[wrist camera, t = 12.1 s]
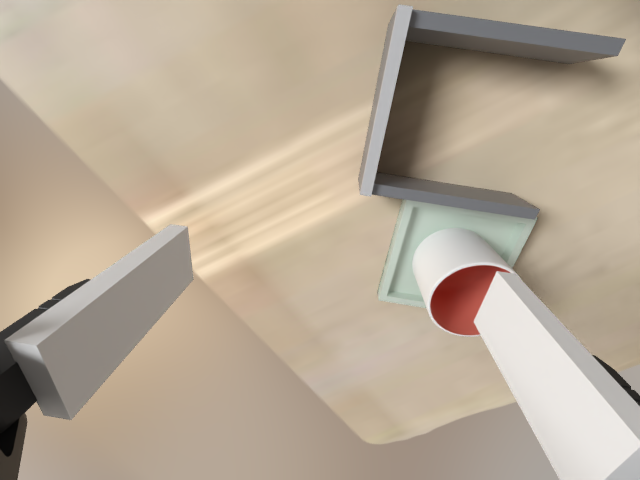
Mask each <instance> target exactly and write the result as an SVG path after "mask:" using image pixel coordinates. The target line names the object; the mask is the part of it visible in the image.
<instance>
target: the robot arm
mask: <svg viewBox="0 0 640 480" xmlns="http://www.w3.org/2000/svg"><path fill="white" fill-rule="evenodd" d="M192 281H193V271H192V262H191V253H190V244H189V234H188V227H186V226H179V225H172V224H170V225H169V226H167V227H166V228H164V229H163V230H161V231H160V232H159V233H157V234H156V235H154V236H153V237H151V238H150V239H149V240H147V241H146V242H144V243H143V244H141V245H140V246H138V247H137V248H136V249H134V250H133V251H131V252H130V253H128V254H127V255H126V256H124V257H123V258H121V259H120V260H118V261H117V262H116V263H114V264H113V265H111V266H110V267H108V268H107V269H106V270H104V271H103V272H101V273H100V274H98V275H97V276H96V277H94V278H93V279H91V280H90V279H86V280H84V281H81V282H79V283H76V284H74V285H72V286H69V287H67V288H66V289H64V290H63V291H61V292H60V293H58V294H57V295H55V296H54V297H52V299H51V300H48V301H46V302H45V303H43V304H42V305H40V306H39V308H38V309H34V310H33V311H31V312H30V313H28V314H27V315H25V316H24V317H22V318H21V319H19V320H18V321H16V322H15V323H13V324H12V325H10V326H9V327H7V328H6V329H4V330H3V331H1V332H0V480H17V478H18V473H19V467H20V461H21V455H22V450H23V444H24V438H25V432H26V427H27V418H26V414H25V412H26V411H27V410H28V409H29V408H30V407H31V406H32V405H33V404H34V403H35V402H36V401H37V403H38V405H39V407H40V409H41V411H42V413H43V415H45V416H51V417H57V418H63V419H69V420H72V418H73V417H74V416H75V415H76V414H77V413H78V412H79V411H80V409H81V408H82V407H83V406H84V405H85V404H86V402H87V401H88V400H89V399H90V398H91V397H92V396H93V394H94V393H95V392H96V391H97V390H98V389H99V388H100V386H101V385H102V384H103V383H104V382H105V380H106V379H107V378H108V377H109V376H110V375H111V374H112V373H113V371H114V370H115V369H116V368H117V367H118V366H119V364H120V363H121V362H122V361H123V360H124V359H125V358H126V356H127V355H128V354H129V353H130V352H131V351H132V349H133V348H134V347H135V346H136V345H137V344H138V343H139V342H140V340H141V339H142V338H143V337H144V336H145V335H146V334H147V332H148V331H149V330H150V329H151V328H152V326H153V325H154V324H155V323H156V322H157V321H158V320H159V318H160V317H161V316H162V315H163V314H164V313H165V312H166V311H167V309H168V308H169V307H170V306H171V305H172V304H173V302H174V301H175V300H176V299H177V298H178V297H179V296H180V294H181V293H182V292H183V291H184V290H185V289H186V287H187V286H188V285H189V284H190V283H191V282H192ZM474 324H475V325H476V327H477V329H478V331H479V333H480V335H481V336H482V338H483V340H484V342H485V344H486V346H487V347H488V349H489V351H490V353H491V355H492V357H493V358H494V360H495V362H496V364H497V366H498V368H499V369H500V371H501V373H502V375H503V377H504V379H505V380H506V382H507V384H508V386H509V388H510V390H511V391H512V393H513V395H514V397H515V399H516V401H517V402H518V404H519V406H520V408H521V410H522V411H523V413H524V415H525V417H526V418H527V421H528V422H529V424H530V426H531V428H532V429H533V432H534V433H535V435H536V437H537V439H538V441H539V442H540V444H541V446H542V448H543V450H544V452H545V454H546V455H547V457H548V459H549V461H550V463H551V465H552V466H553V468H554V470H555V472H556V474H557V475H558V477H559V479H560V480H640V396H639V394H638V393H637V392H636V391H634V390H631V386H630V385H629V384H628V383H627V382H626V381H625V380H624V379H623V378H622V377H621V376H620V375H619V374H618V373H617V372H616V371H615V370H614V369H613V368H611V367H610V366H609V365H607V364H606V363H604V362H603V361H602V360H600V359H599V358H598V357H596V356H595V355H591V354H590V353H589V352H588V351H587V349H586V348H585V347H584V346H583V345H582V344H581V343H580V342H579V341H578V340H577V339H576V338H575V337H574V336H573V334H572V333H571V332H570V331H569V330H568V329H567V328H566V327H565V326H564V325H563V324H562V323H561V322H560V321H559V320H558V318H557V317H556V316H555V315H554V314H553V313H552V312H551V311H550V310H549V309H548V308H547V307H546V306H545V305H544V304H543V302H542V301H541V300H540V299H539V298H538V297H537V296H536V295H535V294H534V293H533V292H532V291H531V290H530V289H529V287H528V286H527V285H526V284H525V283H524V282H523V281H522V280H521V279H520V278H519V277H518V276H517V275H516V274H514V273H507V272H500V271H497V272H496V274H495V276H494V278H493V281H492V283H491V285H490V287H489V289H488V291H487V294H486V296H485V298H484V300H483V302H482V304H481V306H480V309H479V311H478V313H477V315H476V317H475V319H474Z"/></svg>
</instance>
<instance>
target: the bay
mask: <svg viewBox="0 0 640 480" xmlns="http://www.w3.org/2000/svg"><path fill="white" fill-rule="evenodd" d="M412 8H413V6H406V5H398V6H397V8H396V10H395V12H394V14H393V16H392V18H391V20H390V22H389V24H388V29H387V34H386V39H385V44H384V50H383V55H382V60H381V65H380V70H379V75H378V81H377V86H376V91H375V96H374V101H373V106H372V111H371V117H370V122H369V127H368V132H367V137H366V142H365V148H364V153H363V158H362V163H361V168H360V173H359V178H358V180H359V190H360V195H365V196H371V195H379V196H385V197H392V198H398V199H405V200H411V201H417V202H424V203H430V204H437V205H443V206H450V207H456V208H462V209H469V210H475V211H482V212H488V213H495V214H501V215H507V216H514V217H520V218H527V219H533V220H535V218H536V216H537V214H538V212H539V210H540V209H538V208H537V207H535V206H533V205H531V204H530V203H528V202H526V201H524V200H523V199H521V198H519V197H517V196H516V195H514V194H512V193H507V192H500V191H494V190H487V189H481V188H474V187H468V186H461V185H455V184H448V183H442V182H435V181H429V180H422V179H416V178H409V177H403V176H396V175H390V174H383V173H377V167H378V163H379V158H380V154H381V149H382V145H383V140H384V135H385V131H386V126H387V122H388V117H389V113H390V108H391V104H392V99H393V95H394V90H395V85H396V81H397V76H398V72H399V67H400V63H401V58H402V54H403V49H404V45H405V41H410V42H417V43H424V44H432V45H439V46H446V47H453V48H460V49H467V50H474V51H481V52H488V53H495V54H502V55H509V56H516V57H523V58H530V59H538V60H545V61H552V62H559V63H566V64H572V63H578V62H584V61H590V60H596V59H602V58H608V57H614V56H618V54H619V52H620V50H621V48H622V46H623V44H624V42H625V40H626V39H622V38H615V37H608V36H600V35H593V34H586V33H579V32H571V31H564V30H557V29H550V28H543V27H535V26H528V25H521V24H514V23H507V22H499V21H492V20H485V19H478V18H470V17H463V16H456V15H449V14H442V13H434V12H427V11H420V10H413V9H412Z"/></svg>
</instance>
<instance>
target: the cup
mask: <svg viewBox="0 0 640 480" xmlns="http://www.w3.org/2000/svg"><path fill="white" fill-rule="evenodd" d="M412 268H413V273H414V276H415V278H416V281H417V284H418V286H419V289H420V292H421V294H422V297H423V300H424V303H425V305H426V308H427V311H428V313H429V316H430V318H431V319H432V321H433V322H434V323H435V324H436V325H437V326H438V327H439V328H441V329H442V330H444V331H446V332H448V333H451V334H454V335H458V336H468V337H471V336H481V335H480V333H479V331H478V329H477V327H476V325H475V324H474V319H475V317H476V315H477V313H478V311H479V309H480V306H481V304H482V302H483V300H484V298H485V296H486V294H487V291H488V289H489V287H490V285H491V283H492V281H493V278H494V276H495V274H496V272H497V271H500V272H507V273H514V274H516V275H517V276H518V277H519V275H518V274H517V273H516V272H515V271H514V270H513V269H512V268H511V267H510V266H509V265H508V264H507V263H506V262H505V261H504V260H503V259H502V258H501V257H500V256H499V255H498V254H497V253H496V251H495V250H494V249H493V248H492V247H491V246H490V245H489V244H488V243H487V242H486V241H485V240H484V239H483V238H482V237H481V236H479V235H478V234H476V233H475V232H473V231H470V230H467V229H463V228H447V229H443V230H440V231H437V232H435V233H433V234H431V235H429V236H428V237H427V238H425V239H424V240H423V241H422V242H421V243H420V244H419V246H418V247H417V249H416V251H415V253H414V256H413V260H412ZM519 278H520V277H519ZM520 279H521V278H520Z"/></svg>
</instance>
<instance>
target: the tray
mask: <svg viewBox="0 0 640 480" xmlns="http://www.w3.org/2000/svg"><path fill="white" fill-rule="evenodd" d="M537 219H538V217H536V218H535V220H533V219H527V218H520V217H514V216H507V215H501V214H495V213H488V212H482V211H475V210H469V209H462V208H456V207H450V206H443V205H437V204H430V203H424V202H417V201H411V200H405V199H403V200H402V204H401V207H400V211H399V215H398V218H397V222H396V226H395V229H394V233H393V237H392V240H391V244H390V248H389V251H388V255H387V259H386V262H385V266H384V270H383V273H382V277H381V281H380V284H379V288H378V299H379V300H380V301H386V302H392V303H398V304H404V305H410V306H416V307H422V308H426V305H425V303H424V300H423V297H422V294H421V292H420V289H419V286H418V284H417V281H416V278H415V276H414V273H413V268H412V260H413V256H414V253H415V251H416V249H417V247H418V246H419V244H420V243H421V242H422V241H423V240H424V239H425V238H427V237H428V236H429V235H431V234H433V233H435V232H437V231H440V230H443V229H447V228H463V229H467V230H470V231H473V232H475V233H476V234H478V235H479V236H481V237H482V238H483V239H484V240H485V241H486V242H487V243H488V244H489V245H490V246H491V247H492V248H493V249H494V250H495V251H496V253H497V254H498V255H499V256H500V257H501V258H502V259H503V260H504V261H505V262H506V263H507V264H508V265H509V266H510V267H511V268H513V266H514V264H515V262H516V260H517V258H518V256H519V254H520V252H521V250H522V248H523V246H524V244H525V242H526V240H527V238H528V236H529V235H530V233H531V231H532V229H533V227H534V225H535V223H536V221H537Z"/></svg>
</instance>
